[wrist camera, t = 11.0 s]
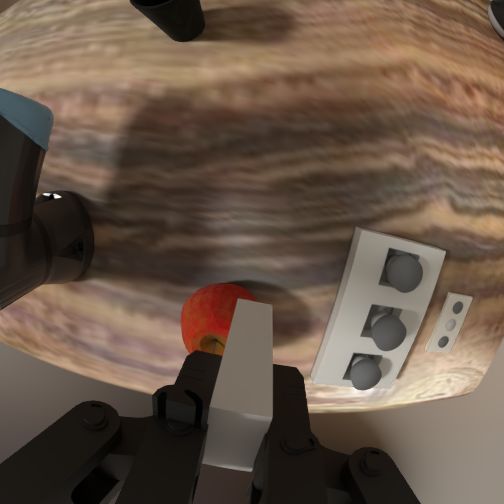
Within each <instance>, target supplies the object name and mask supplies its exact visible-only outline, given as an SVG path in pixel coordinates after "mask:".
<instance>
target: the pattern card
mask: <svg viewBox="0 0 504 504" xmlns="http://www.w3.org/2000/svg"><path fill="white" fill-rule="evenodd" d="M472 299H473V297H472V296H468V295H462V294H457V293H452V292H448V294H447V297H446V300H445V302H444V305H443V308H442V310H441V313H440V315H439V318H438V320H437V322H436V325H435V327H434V330H433V332H432V334H431V336H430V339H429V341H428V343H427V345H426V347H425V351H426V352H446V353H449V352H450V350H451V348H452V346H453V344H454V342H455V340H456V337H457V335H458V333H459V331H460V328H461V326H462V324H463V321H464V319H465V317H466V314H467V312H468V309H469V307H470V304H471V301H472Z"/></svg>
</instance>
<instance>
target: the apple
mask: <svg viewBox="0 0 504 504" xmlns="http://www.w3.org/2000/svg"><path fill="white" fill-rule="evenodd" d="M238 298H239V299H244V300H249V301H254V302H257V300H256V298H255V297H254V296H253V295H252V294H251V293H250V292H249V291H247V290H246V289H244V288H243V287H240V286H238V285H235V284H228V283H219V284H213V285H209V286H206V287H204V288H202V289H199V290H198V291H197V292H195V293H194V294H193V295H192V296H191V297H190V298H189V299H187V300H186V302H185V304H184V306H183V308H182V313H181V329H182V337H183V342H184V344H185V347H186V349H187V350H188V352H189V353H190V354H191V353H192V352H194V351H195V350H199V351H204V352H208V353H213V354H217V355H222V356H223V353H224V350H225V346H226V342H227V338H228V334H229V331H230V327H231V323H232V319H233V315H234V312H235V308H236V304H237V300H238Z"/></svg>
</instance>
